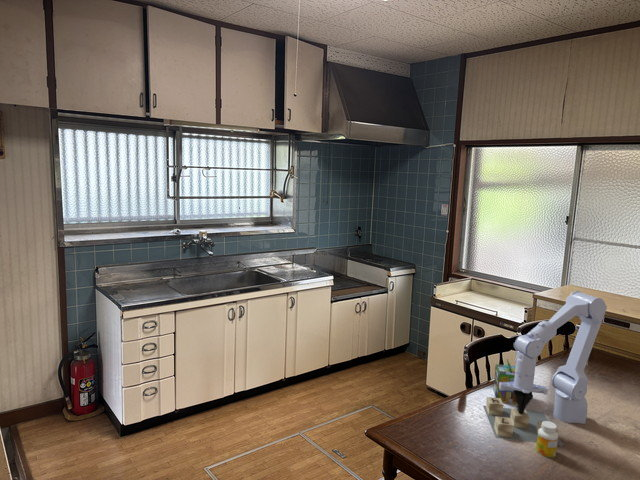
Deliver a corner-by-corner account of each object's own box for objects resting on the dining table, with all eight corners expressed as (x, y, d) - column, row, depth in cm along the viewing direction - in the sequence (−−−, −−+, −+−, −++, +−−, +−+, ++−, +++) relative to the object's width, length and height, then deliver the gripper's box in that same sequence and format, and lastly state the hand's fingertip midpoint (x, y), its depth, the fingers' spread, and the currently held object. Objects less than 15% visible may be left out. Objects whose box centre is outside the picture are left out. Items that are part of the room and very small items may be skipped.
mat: (542, 414, 161) (542, 411, 161) (563, 448, 141) (564, 445, 141) (482, 408, 164) (482, 405, 164) (495, 440, 144) (495, 437, 144)
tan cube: (551, 434, 147) (553, 422, 146) (556, 442, 143) (558, 430, 142) (536, 432, 148) (538, 420, 147) (541, 440, 143) (542, 428, 143)
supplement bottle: (531, 449, 140) (535, 419, 139) (548, 449, 141) (552, 419, 139) (541, 460, 135) (545, 429, 134) (559, 460, 136) (563, 429, 134)
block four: (499, 409, 162) (500, 398, 161) (502, 415, 157) (503, 404, 157) (485, 407, 162) (487, 396, 162) (488, 414, 158) (489, 403, 157)
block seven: (508, 429, 149) (510, 417, 148) (512, 437, 144) (513, 425, 144) (494, 427, 150) (495, 416, 149) (497, 435, 145) (498, 423, 144)
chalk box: (523, 407, 166) (527, 368, 163) (496, 403, 167) (500, 364, 165) (517, 395, 175) (522, 357, 172) (492, 391, 176) (496, 354, 174)
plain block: (524, 421, 154) (525, 409, 154) (528, 428, 150) (529, 416, 149) (510, 419, 155) (511, 408, 154) (513, 426, 151) (514, 415, 150)
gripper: (504, 375, 147) (500, 415, 149) (552, 380, 145) (547, 420, 147) (499, 366, 154) (495, 404, 156) (545, 370, 152) (540, 409, 154)
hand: (520, 411), depth 152 cm, fingers closed
